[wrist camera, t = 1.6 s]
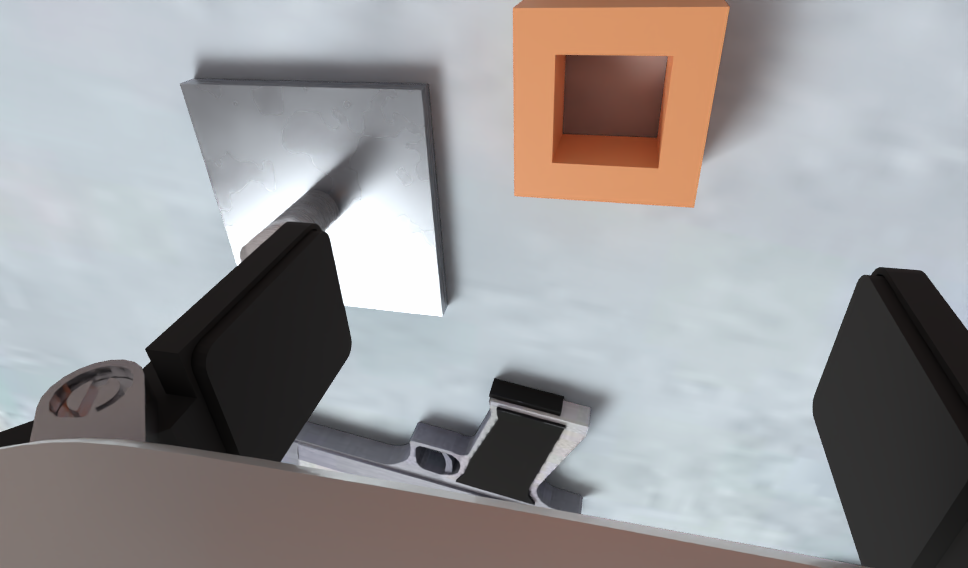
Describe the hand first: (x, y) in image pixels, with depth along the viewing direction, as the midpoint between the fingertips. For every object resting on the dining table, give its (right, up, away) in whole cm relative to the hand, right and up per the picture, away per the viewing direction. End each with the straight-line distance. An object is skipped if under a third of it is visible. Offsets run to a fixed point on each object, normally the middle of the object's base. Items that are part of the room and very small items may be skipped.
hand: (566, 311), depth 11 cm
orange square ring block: (+4, +9, +13) cm, 16 cm away
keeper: (-10, +5, +19) cm, 22 cm away
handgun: (-5, -9, +28) cm, 30 cm away
